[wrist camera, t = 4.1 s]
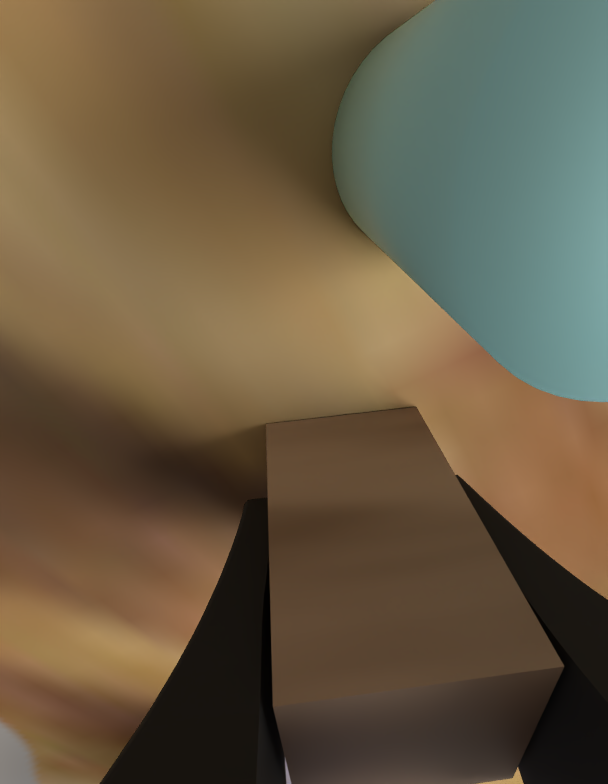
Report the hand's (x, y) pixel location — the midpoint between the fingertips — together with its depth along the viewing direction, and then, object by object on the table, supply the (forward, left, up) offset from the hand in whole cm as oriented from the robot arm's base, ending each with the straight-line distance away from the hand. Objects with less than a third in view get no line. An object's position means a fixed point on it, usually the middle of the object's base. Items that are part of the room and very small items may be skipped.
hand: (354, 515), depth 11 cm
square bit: (0, 0, -2) cm, 2 cm away
